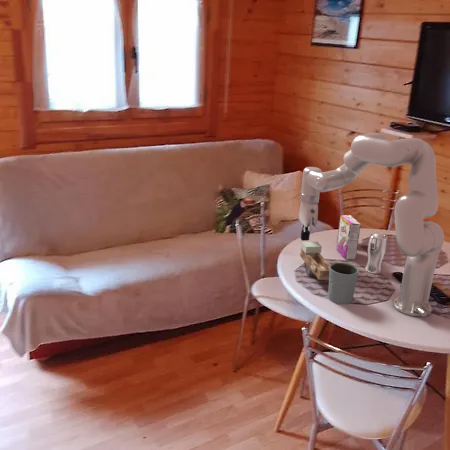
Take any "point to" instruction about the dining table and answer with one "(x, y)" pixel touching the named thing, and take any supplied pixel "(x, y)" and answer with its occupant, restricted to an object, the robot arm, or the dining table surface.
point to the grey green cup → (342, 282)
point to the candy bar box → (348, 237)
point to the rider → (311, 248)
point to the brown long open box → (316, 265)
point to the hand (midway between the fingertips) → (304, 239)
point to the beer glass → (376, 252)
